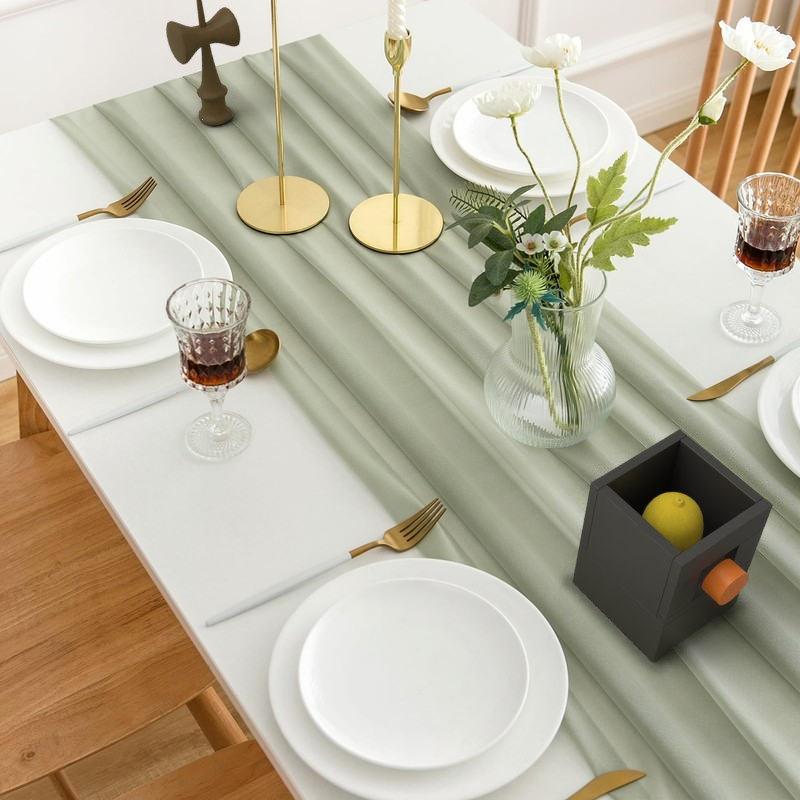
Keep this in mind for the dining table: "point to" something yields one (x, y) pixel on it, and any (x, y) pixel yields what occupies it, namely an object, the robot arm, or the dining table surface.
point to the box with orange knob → (664, 542)
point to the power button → (725, 581)
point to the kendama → (206, 57)
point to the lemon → (676, 519)
